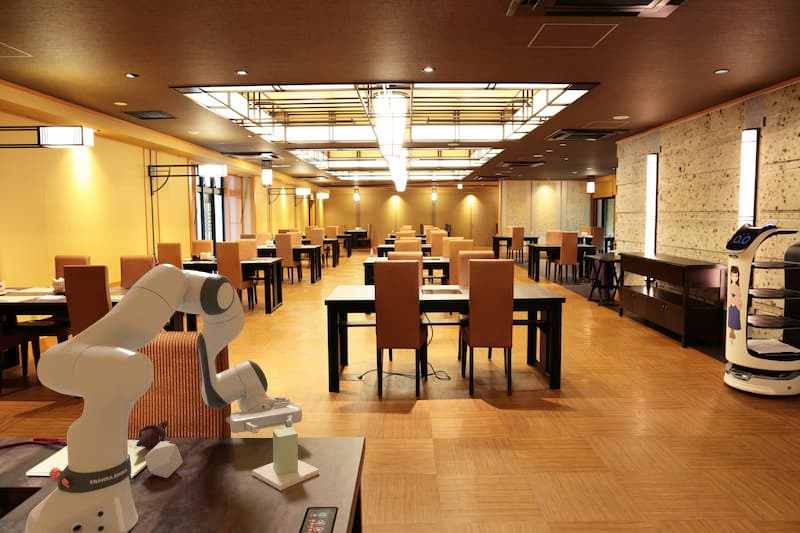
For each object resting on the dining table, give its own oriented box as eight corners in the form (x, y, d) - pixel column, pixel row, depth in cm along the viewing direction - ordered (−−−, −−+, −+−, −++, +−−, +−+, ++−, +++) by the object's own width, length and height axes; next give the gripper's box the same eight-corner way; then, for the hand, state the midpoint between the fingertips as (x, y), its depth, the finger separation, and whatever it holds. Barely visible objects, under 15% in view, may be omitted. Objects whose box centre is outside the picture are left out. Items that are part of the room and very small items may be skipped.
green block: (278, 475, 136) (278, 437, 135) (273, 467, 141) (272, 430, 140) (297, 471, 139) (297, 433, 138) (292, 463, 143) (291, 427, 142)
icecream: (153, 436, 147) (179, 421, 162) (127, 428, 148) (156, 414, 163) (146, 461, 147) (173, 444, 162) (121, 453, 148) (150, 436, 163)
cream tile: (280, 490, 131) (280, 485, 131) (252, 474, 139) (252, 470, 139) (318, 473, 140) (318, 469, 140) (290, 459, 148) (290, 455, 148)
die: (190, 473, 141) (183, 437, 145) (175, 470, 133) (168, 432, 137) (159, 485, 141) (153, 449, 145) (142, 483, 133) (136, 445, 137)
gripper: (224, 406, 157) (234, 422, 144) (293, 396, 166) (308, 410, 154) (224, 428, 157) (234, 445, 145) (293, 416, 167) (308, 432, 155)
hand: (272, 427), depth 150 cm, fingers open, 8 cm apart
